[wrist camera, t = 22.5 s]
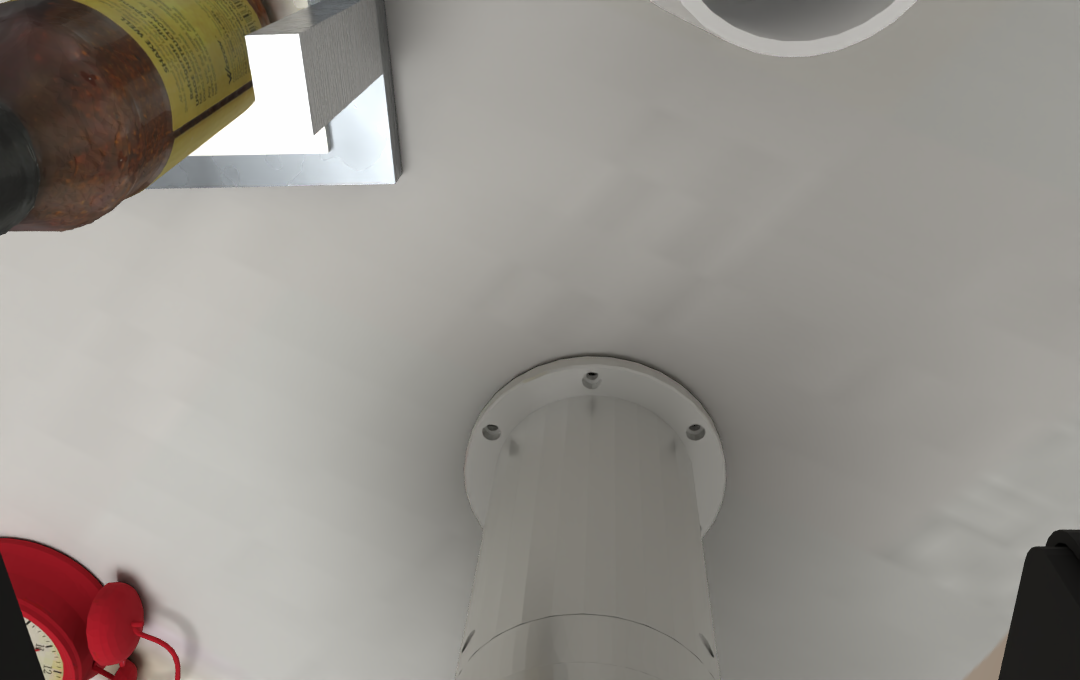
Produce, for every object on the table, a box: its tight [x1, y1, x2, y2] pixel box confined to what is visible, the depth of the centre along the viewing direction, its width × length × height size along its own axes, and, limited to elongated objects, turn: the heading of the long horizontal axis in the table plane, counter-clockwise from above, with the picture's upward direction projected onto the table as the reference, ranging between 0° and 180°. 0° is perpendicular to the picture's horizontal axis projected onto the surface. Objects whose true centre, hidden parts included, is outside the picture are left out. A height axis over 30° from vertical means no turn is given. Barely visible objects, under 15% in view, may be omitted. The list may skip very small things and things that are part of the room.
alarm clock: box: [0, 538, 180, 680], centre depth 53 cm, size 10×6×15 cm
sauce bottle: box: [0, 0, 270, 235], centre depth 29 cm, size 7×6×20 cm
